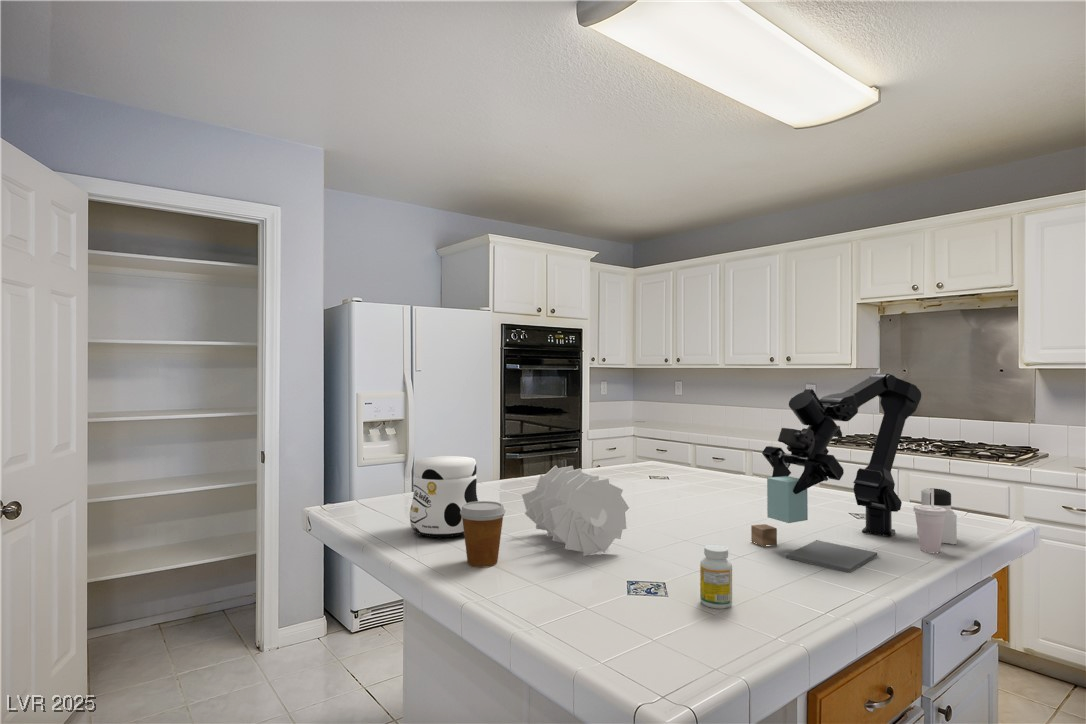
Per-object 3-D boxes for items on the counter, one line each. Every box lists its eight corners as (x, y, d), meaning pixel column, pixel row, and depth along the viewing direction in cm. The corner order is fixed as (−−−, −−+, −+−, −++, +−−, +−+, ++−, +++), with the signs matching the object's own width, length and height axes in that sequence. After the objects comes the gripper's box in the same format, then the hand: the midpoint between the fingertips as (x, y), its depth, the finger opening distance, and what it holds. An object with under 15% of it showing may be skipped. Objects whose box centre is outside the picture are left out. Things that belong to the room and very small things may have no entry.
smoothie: (952, 556, 132) (952, 492, 132) (920, 554, 133) (919, 490, 133) (939, 547, 138) (939, 486, 138) (908, 545, 139) (908, 485, 139)
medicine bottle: (951, 537, 146) (950, 488, 147) (957, 545, 140) (956, 493, 140) (916, 534, 149) (916, 485, 150) (921, 541, 143) (920, 490, 143)
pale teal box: (786, 514, 141) (785, 475, 141) (807, 520, 135) (807, 480, 135) (767, 517, 138) (767, 478, 138) (788, 523, 132) (788, 482, 133)
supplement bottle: (724, 612, 101) (724, 554, 101) (694, 604, 104) (694, 548, 104) (737, 602, 105) (737, 547, 105) (708, 595, 108) (708, 541, 108)
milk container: (395, 537, 145) (395, 463, 145) (434, 521, 161) (434, 453, 161) (457, 545, 139) (458, 467, 139) (491, 527, 155) (492, 457, 155)
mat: (817, 543, 141) (817, 540, 141) (877, 556, 131) (877, 552, 131) (786, 557, 130) (786, 554, 130) (849, 572, 120) (849, 568, 120)
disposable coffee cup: (469, 572, 120) (469, 512, 120) (453, 559, 128) (453, 503, 128) (512, 565, 124) (512, 507, 124) (494, 553, 133) (494, 498, 133)
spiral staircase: (568, 546, 152) (618, 571, 129) (508, 521, 146) (549, 543, 123) (594, 478, 156) (647, 491, 133) (537, 452, 150) (582, 460, 128)
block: (765, 540, 143) (765, 524, 143) (776, 545, 139) (776, 528, 140) (751, 542, 142) (751, 525, 142) (762, 547, 138) (762, 529, 138)
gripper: (767, 412, 147) (733, 461, 142) (834, 418, 130) (799, 473, 125) (790, 443, 150) (758, 491, 145) (858, 452, 134) (825, 507, 129)
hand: (782, 490), depth 136 cm, fingers closed on pale teal box, 6 cm apart
